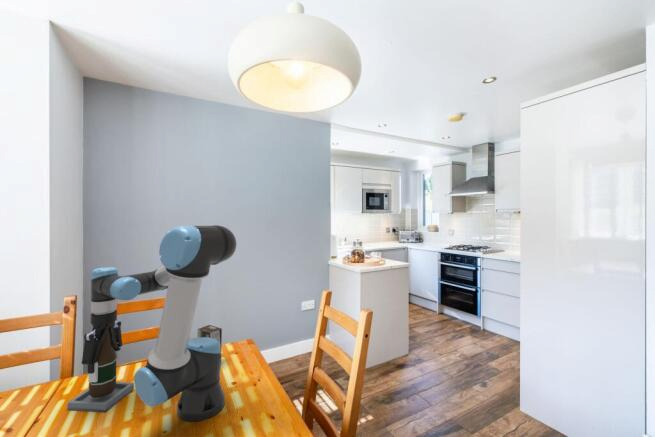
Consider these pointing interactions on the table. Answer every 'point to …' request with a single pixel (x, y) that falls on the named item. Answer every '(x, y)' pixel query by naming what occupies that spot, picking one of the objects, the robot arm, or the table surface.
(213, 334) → the coffee box
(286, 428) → the table surface
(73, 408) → the tray
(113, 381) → the beer bottle
